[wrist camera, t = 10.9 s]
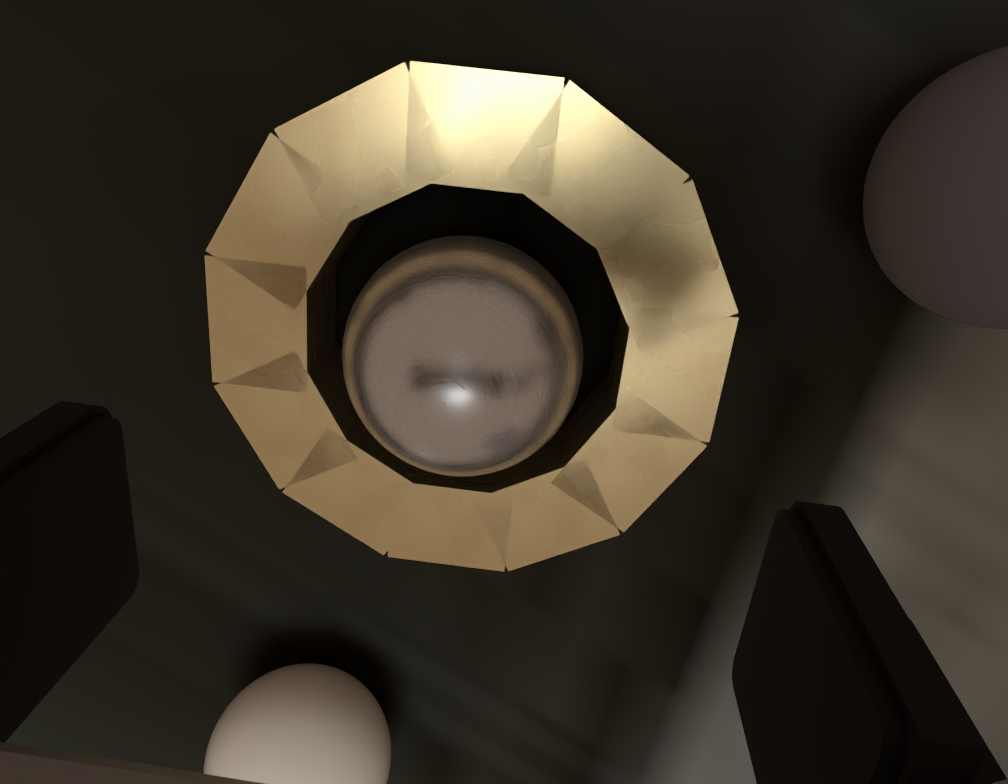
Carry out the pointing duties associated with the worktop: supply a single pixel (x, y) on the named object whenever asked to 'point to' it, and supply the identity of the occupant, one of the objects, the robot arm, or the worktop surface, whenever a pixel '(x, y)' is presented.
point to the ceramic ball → (302, 730)
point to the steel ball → (462, 355)
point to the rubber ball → (947, 195)
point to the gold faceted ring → (491, 166)
